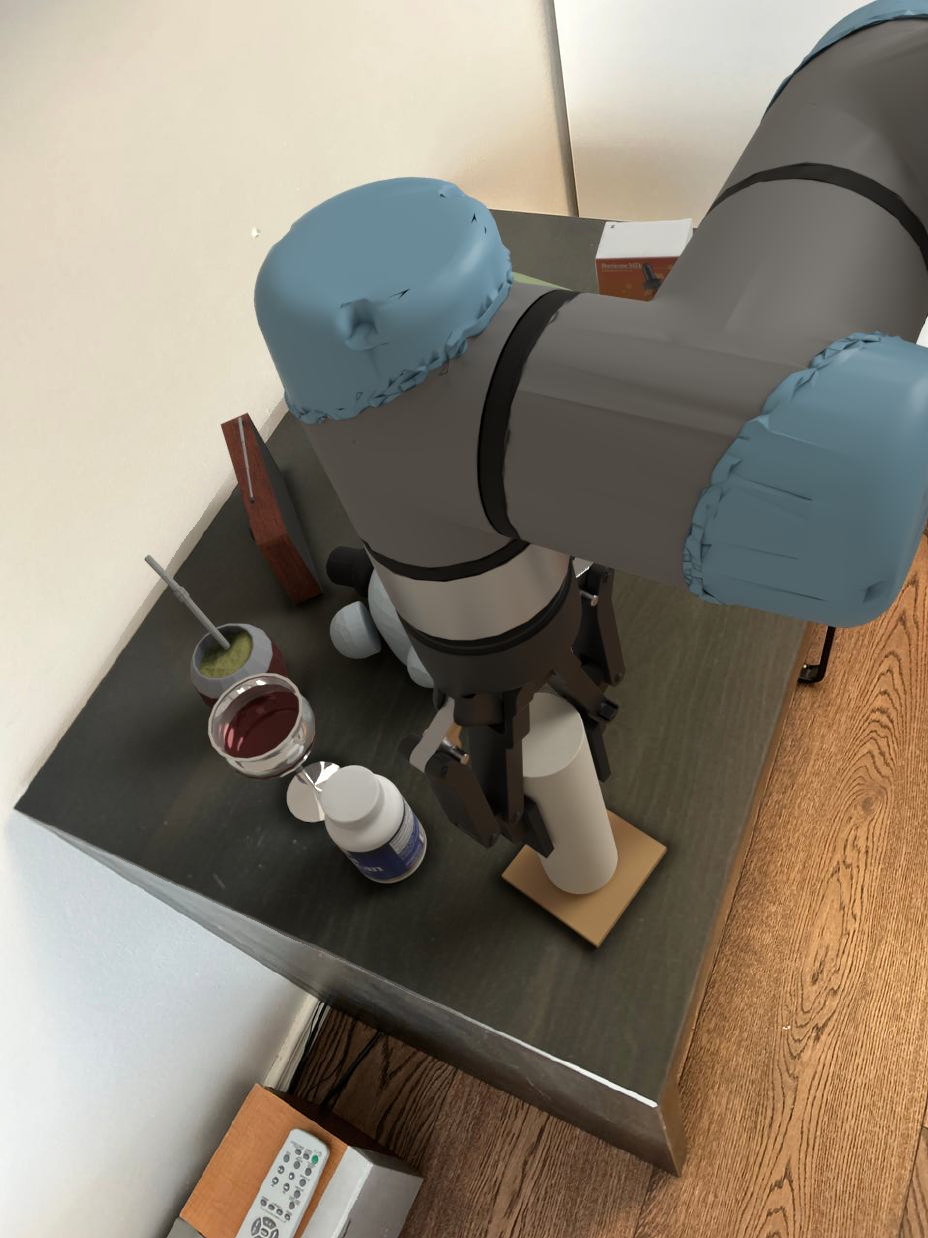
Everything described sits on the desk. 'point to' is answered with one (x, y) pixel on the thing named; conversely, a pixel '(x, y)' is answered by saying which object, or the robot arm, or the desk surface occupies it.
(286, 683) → the wineglass
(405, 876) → the pill bottle
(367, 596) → the figurine
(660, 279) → the small box
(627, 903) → the coaster
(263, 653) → the mate gourd
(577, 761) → the canister
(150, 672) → the desk surface
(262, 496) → the radio
